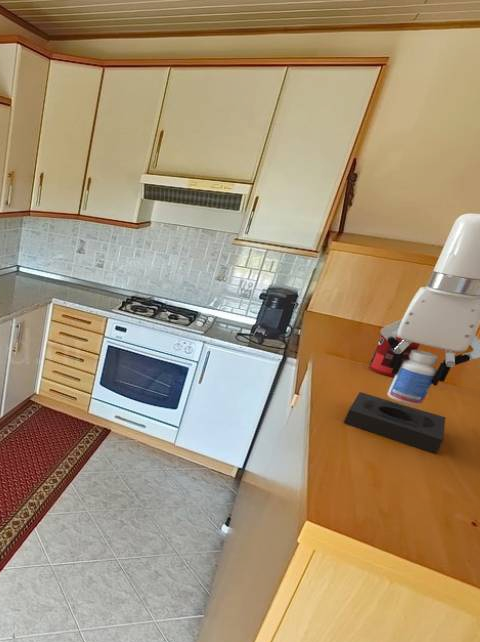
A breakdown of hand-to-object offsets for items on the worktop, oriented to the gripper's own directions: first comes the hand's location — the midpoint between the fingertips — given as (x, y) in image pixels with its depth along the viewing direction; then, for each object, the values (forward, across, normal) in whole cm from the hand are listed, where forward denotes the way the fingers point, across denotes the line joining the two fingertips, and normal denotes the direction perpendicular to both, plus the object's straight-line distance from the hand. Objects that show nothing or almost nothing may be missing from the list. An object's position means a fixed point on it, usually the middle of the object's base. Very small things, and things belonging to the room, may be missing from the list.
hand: (414, 377), depth 93 cm
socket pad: (+11, 0, 0) cm, 11 cm away
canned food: (+11, +4, -42) cm, 44 cm away
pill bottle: (+5, 0, 0) cm, 5 cm away
